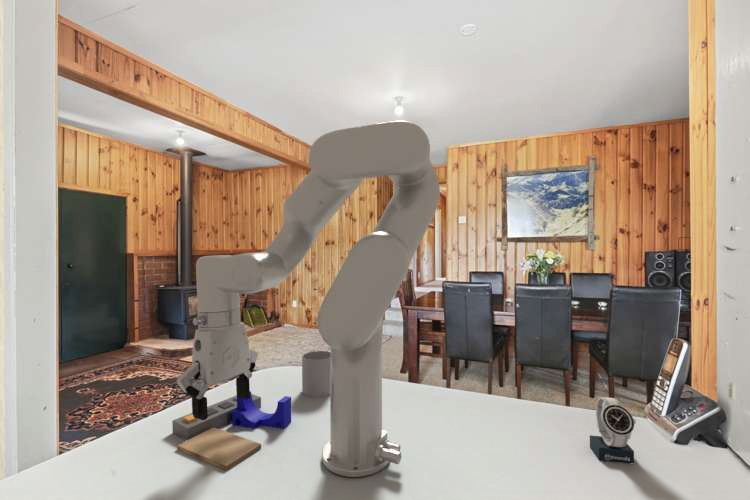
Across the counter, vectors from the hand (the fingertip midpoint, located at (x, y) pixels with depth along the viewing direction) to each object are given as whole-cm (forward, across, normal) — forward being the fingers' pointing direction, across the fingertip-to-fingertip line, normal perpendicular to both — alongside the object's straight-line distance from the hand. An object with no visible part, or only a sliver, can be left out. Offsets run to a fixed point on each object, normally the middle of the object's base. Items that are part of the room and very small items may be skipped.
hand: (223, 407), depth 69 cm
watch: (+11, +31, -65) cm, 73 cm away
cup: (+9, +31, +1) cm, 32 cm away
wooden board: (+8, 0, +1) cm, 8 cm away
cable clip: (+9, +11, +1) cm, 14 cm away
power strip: (+8, +8, +11) cm, 16 cm away
